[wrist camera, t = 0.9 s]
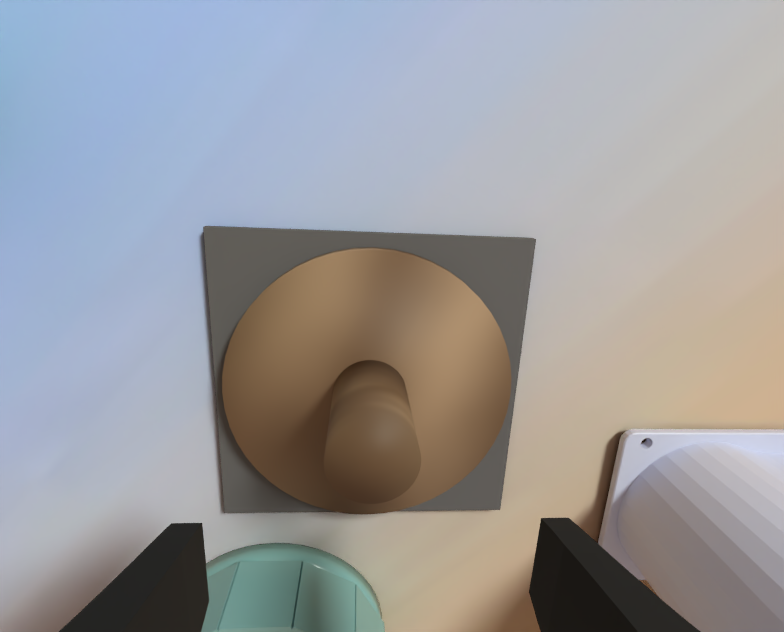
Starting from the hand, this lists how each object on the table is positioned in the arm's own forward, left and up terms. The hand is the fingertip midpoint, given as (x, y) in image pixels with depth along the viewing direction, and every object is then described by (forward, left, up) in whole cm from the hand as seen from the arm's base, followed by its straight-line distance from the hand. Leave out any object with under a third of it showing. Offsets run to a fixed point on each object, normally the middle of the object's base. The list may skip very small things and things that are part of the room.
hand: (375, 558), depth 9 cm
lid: (0, 0, -9) cm, 9 cm away
